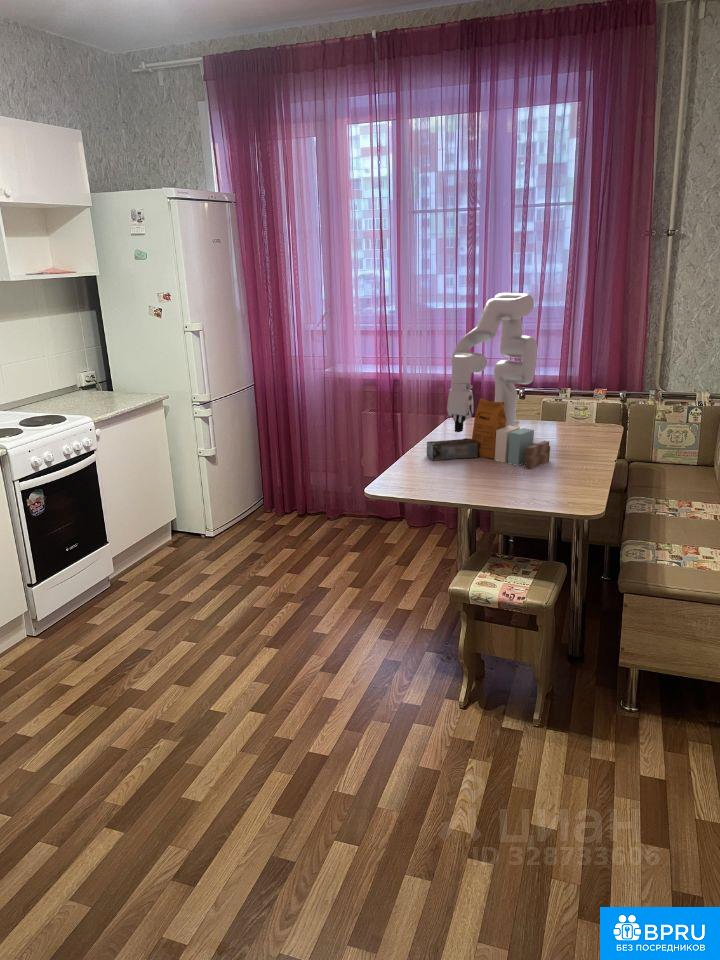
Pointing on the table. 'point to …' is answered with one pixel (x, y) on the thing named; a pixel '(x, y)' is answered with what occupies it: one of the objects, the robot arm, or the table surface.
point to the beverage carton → (452, 449)
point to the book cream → (503, 442)
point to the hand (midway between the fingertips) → (458, 431)
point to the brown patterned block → (537, 454)
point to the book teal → (519, 445)
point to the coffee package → (488, 426)
